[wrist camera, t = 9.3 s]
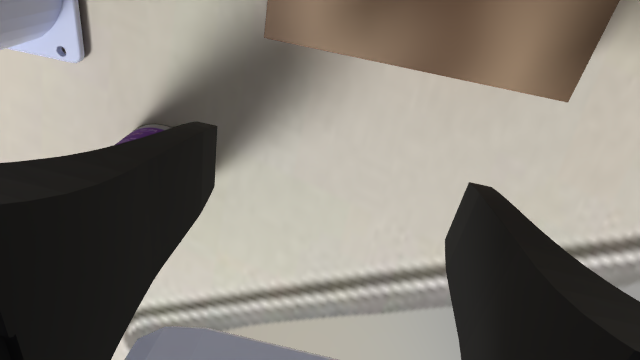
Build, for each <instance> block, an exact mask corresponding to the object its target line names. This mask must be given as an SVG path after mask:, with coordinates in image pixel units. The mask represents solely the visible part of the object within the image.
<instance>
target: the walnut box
mask: <svg viewBox="0 0 640 360" xmlns="http://www.w3.org/2000/svg"><path fill="white" fill-rule="evenodd" d="M618 2H619V0H268V2H267V12H266V23H265V33H264V38H268V39H272V40H277V41H282V42H286V43H291V44H296V45H301V46H305V47H310V48H315V49H319V50H324V51H329V52H333V53H338V54H343V55H348V56H352V57H357V58H362V59H366V60H371V61H376V62H380V63H385V64H390V65H395V66H399V67H404V68H409V69H413V70H418V71H423V72H427V73H432V74H437V75H442V76H446V77H451V78H456V79H460V80H465V81H470V82H474V83H479V84H484V85H489V86H493V87H498V88H503V89H507V90H512V91H517V92H521V93H526V94H531V95H535V96H540V97H545V98H550V99H554V100H559V101H564V102H568V101H569V99H570V97H571V95H572V94H573V92H574V90H575V88H576V86H577V84H578V82H579V80H580V78H581V76H582V74H583V72H584V70H585V68H586V66H587V64H588V62H589V60H590V58H591V56H592V54H593V52H594V50H595V48H596V46H597V44H598V42H599V40H600V38H601V36H602V34H603V32H604V30H605V28H606V26H607V24H608V22H609V20H610V18H611V16H612V14H613V12H614V10H615V8H616V6H617V4H618Z"/></svg>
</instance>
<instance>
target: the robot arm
mask: <svg viewBox="0 0 640 360" xmlns="http://www.w3.org/2000/svg"><path fill="white" fill-rule="evenodd" d="M62 47H63V48H64V49H65V50H66V54H65V53H64V52H63V51H62ZM5 48H7V49H12V50H16V51H21V52H25V53H30V54H34V55H39V56H44V57H48V58H53V59H57V60H62V61H66V62H71V63H77V62H80V61H82V60H83V59H84V45H83V37H82V29H81V20H80V12H79V4H78V0H0V50H2V49H5ZM216 140H217V126H214V125H210V124H205V123H201V122H191V123H187V124H183V125H180V126H177V127H173V128H170V129H167V130H164V131H161V132H158V133H155V134H151V135H148V136H145V137H142V138H139V139H135V140H132V141H128V142H124V143H121V144H117V145H114V146H110V147H106V148H102V149H98V150H93V151H89V152H83V153H78V154H73V155H67V156H61V157H54V158H45V159H37V160H29V161H20V162H9V163H0V360H111V358H112V356H113V354H114V352H115V350H116V348H117V346H118V344H119V342H120V340H121V338H122V337H123V335H124V333H125V331H126V329H127V327H128V325H129V323H130V321H131V320H132V318H133V316H134V314H135V312H136V310H137V308H138V307H139V305H140V303H141V301H142V299H143V298H144V296H145V294H146V292H147V291H148V289H149V287H150V285H151V283H152V282H153V280H154V279H155V277H156V276H157V274H158V272H159V271H160V269H161V268H162V267H163V265H164V264H165V262H166V261H167V260H168V258H169V257H170V256H171V254H172V253H173V251H174V250H175V249H176V247H177V246H178V245H179V243H180V242H181V240H182V239H183V238H184V236H185V235H186V234H187V232H188V231H189V229H190V228H191V227H192V225H193V224H194V222H195V221H196V220H197V218H198V217H199V215H200V214H201V212H202V210H203V208H204V206H205V205H206V203H207V201H208V199H209V197H210V195H211V193H212V190H213V188H214V183H215V162H216ZM445 260H446V273H447V279H448V284H449V290H450V295H451V301H452V306H453V311H454V316H455V321H456V327H457V332H458V337H459V344H460V352H461V360H640V302H639V301H637V300H636V299H634V298H633V297H631V296H629V295H628V294H626V293H624V292H623V291H621V290H620V289H618V288H616V287H615V286H613V285H612V284H610V283H609V282H607V281H606V280H604V279H603V278H601V277H600V276H599V275H597V274H596V273H594V272H593V271H591V270H590V269H589V268H587V267H586V266H584V265H583V264H582V263H580V262H579V261H578V260H576V259H575V258H574V257H572V256H571V255H570V254H569V253H567V252H566V251H565V250H564V249H562V248H561V247H560V246H559V245H557V244H556V243H555V242H554V241H553V240H551V239H550V238H549V237H548V236H547V235H546V234H544V233H543V232H542V231H541V230H540V229H539V228H538V227H536V226H535V225H534V224H533V223H532V222H531V221H530V220H529V219H528V218H527V217H525V216H524V215H523V214H522V213H521V212H520V211H519V210H518V209H517V208H516V207H515V206H513V205H512V204H511V203H510V202H509V201H508V200H507V199H506V198H505V197H503V196H502V195H501V194H500V193H499V192H497V191H496V190H495V189H493V188H492V187H488V186H484V185H479V184H475V183H470V182H469V184H468V186H467V189H466V191H465V193H464V196H463V198H462V200H461V203H460V205H459V208H458V210H457V212H456V215H455V217H454V220H453V222H452V224H451V227H450V229H449V231H448V234H447V236H446V239H445ZM125 360H338V359H334V358H330V357H325V356H321V355H317V354H313V353H309V352H305V351H300V350H296V349H292V348H288V347H283V346H280V345H276V344H271V343H267V342H263V341H259V340H255V339H251V338H247V337H243V336H238V335H235V334H230V333H226V332H222V331H218V330H214V329H210V328H200V327H183V326H167V327H163V328H161V329H159V330H156V331H154V332H152V333H150V334H148V335H145V336H143V337H141V338H139V339H137V341H136V342H135V344H134V345H133V347H132V349H131V350H130V352H129V353H128V355H127V357H126V358H125Z"/></svg>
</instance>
